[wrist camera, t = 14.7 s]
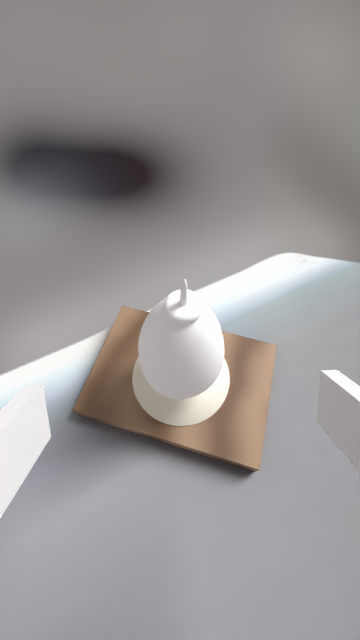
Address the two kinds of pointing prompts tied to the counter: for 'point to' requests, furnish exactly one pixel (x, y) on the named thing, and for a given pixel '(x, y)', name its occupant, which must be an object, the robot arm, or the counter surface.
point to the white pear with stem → (181, 346)
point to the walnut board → (184, 414)
